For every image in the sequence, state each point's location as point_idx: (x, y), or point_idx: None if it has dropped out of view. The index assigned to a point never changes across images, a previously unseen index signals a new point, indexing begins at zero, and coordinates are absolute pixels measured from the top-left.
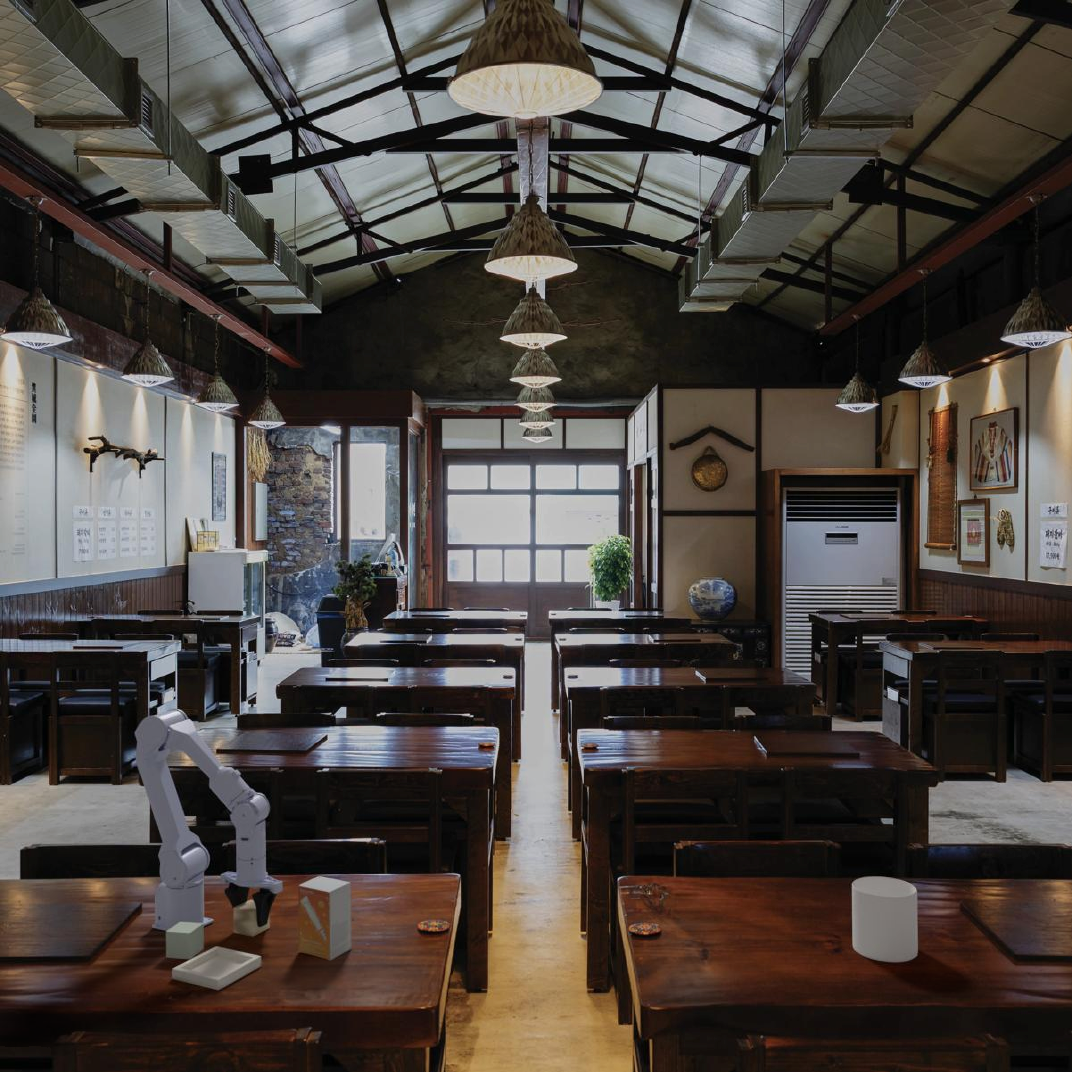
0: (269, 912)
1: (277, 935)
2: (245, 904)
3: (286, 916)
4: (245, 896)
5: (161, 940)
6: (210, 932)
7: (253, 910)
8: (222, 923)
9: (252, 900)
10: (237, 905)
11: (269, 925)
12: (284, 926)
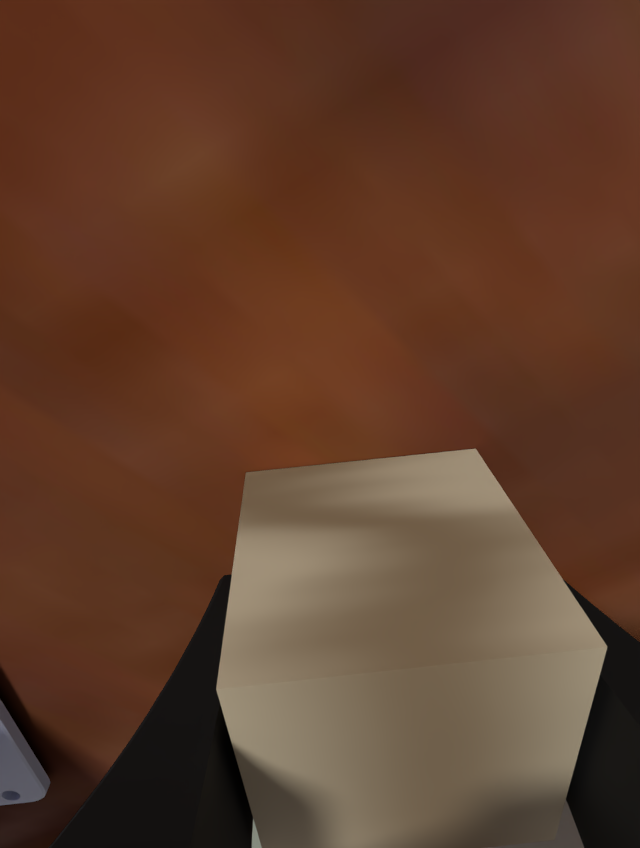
0: (606, 618)
1: (635, 516)
2: (307, 788)
3: (436, 111)
4: (208, 841)
5: (9, 842)
6: (127, 693)
7: (543, 825)
8: (24, 575)
9: (271, 693)
10: (245, 832)
11: (482, 464)
12: (590, 357)
